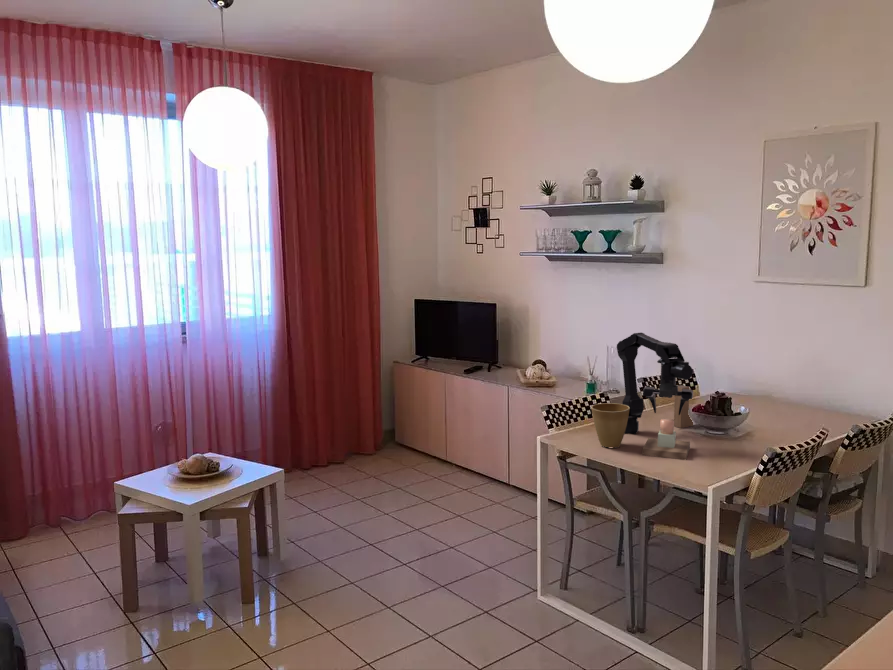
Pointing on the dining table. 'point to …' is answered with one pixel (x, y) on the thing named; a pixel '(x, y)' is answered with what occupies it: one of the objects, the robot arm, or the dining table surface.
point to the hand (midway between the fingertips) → (667, 413)
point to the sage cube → (666, 440)
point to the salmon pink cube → (667, 426)
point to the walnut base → (666, 449)
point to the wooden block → (683, 418)
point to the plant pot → (610, 423)
